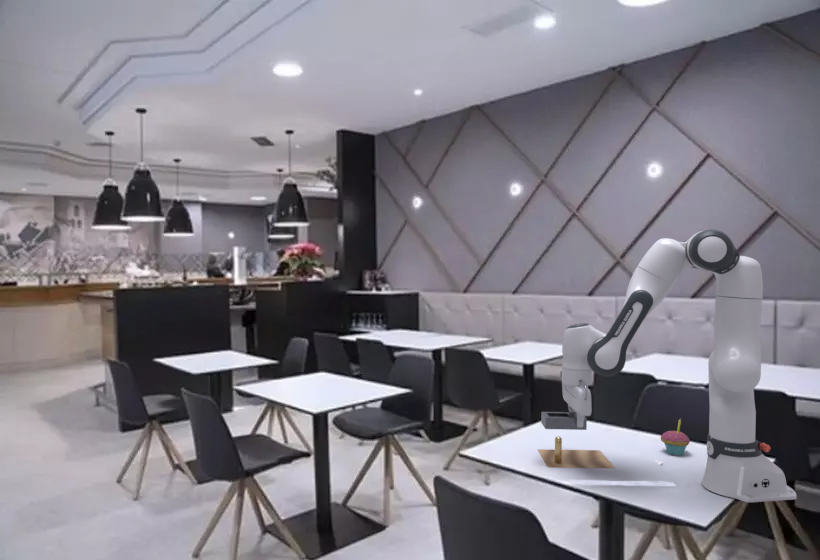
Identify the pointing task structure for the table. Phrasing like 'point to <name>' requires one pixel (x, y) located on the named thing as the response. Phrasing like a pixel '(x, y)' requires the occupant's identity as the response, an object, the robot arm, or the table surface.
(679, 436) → the cupcake
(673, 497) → the table surface
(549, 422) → the steel link
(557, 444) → the post
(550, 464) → the oak board
